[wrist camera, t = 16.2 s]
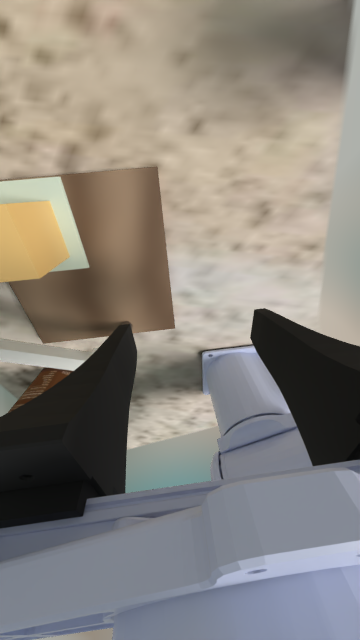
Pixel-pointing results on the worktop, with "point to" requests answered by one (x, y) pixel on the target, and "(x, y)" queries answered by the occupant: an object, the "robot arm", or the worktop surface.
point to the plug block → (29, 241)
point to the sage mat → (56, 195)
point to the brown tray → (106, 261)
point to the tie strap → (42, 355)
